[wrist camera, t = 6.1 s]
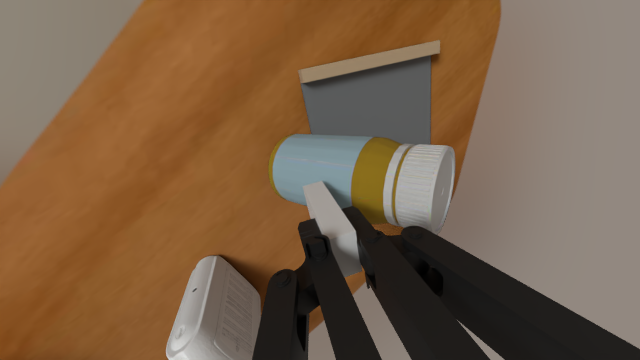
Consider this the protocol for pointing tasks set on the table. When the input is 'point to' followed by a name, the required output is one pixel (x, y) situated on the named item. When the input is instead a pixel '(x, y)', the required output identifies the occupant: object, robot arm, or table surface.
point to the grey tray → (373, 95)
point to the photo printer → (216, 315)
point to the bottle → (369, 176)
